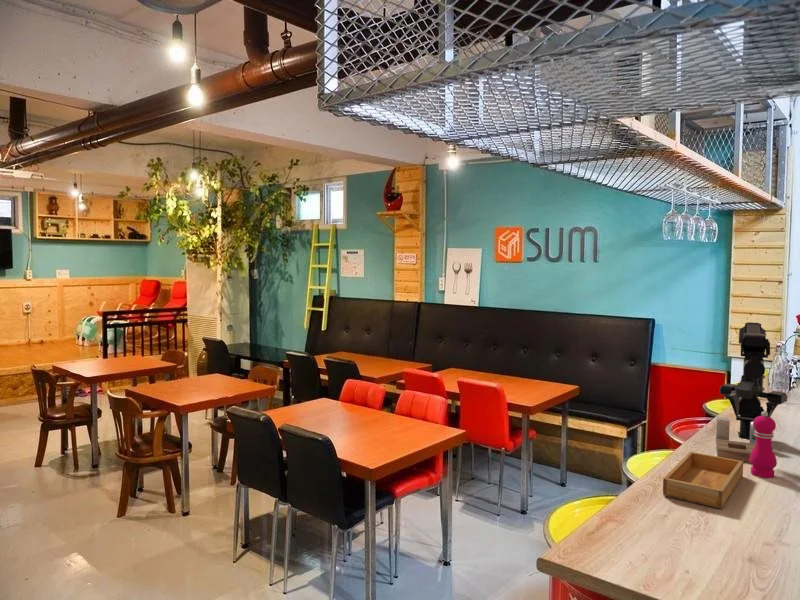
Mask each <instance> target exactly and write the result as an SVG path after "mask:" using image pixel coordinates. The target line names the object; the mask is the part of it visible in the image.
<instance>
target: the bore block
mask: <svg viewBox="0 0 800 600" xmlns="http://www.w3.org/2000/svg"><path fill="white" fill-rule="evenodd" d="M754 447H755V444H754V443H750V442H745V441H744V442H743V441H736V440H729V441H728V440H719V439H717V444H716V456H717V457H723V458H728V459H734V460H739V461H743V462H744V463H745V462H746V463H750V461H749V459H750V454H751V452H752V450H753V449H754Z"/></svg>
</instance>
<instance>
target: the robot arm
mask: <svg viewBox="0 0 800 600" xmlns="http://www.w3.org/2000/svg"><path fill="white" fill-rule="evenodd" d="M738 331H739V332H738V344H740V357H743V367H742V370H743V371H742V375H741V377H740V381H739V382H737V384H733V383H725V384H723V385H721V386H719V394H720V395H723V397H724V398H726V399H728V401H729V402H730V405H731V407H732V409H733V412H734V415H735V421H739V431H737V434H738V438H741V439H750V421H754V419H755V418H756V417H758V416H762V415H761V413H762V412H763V411H766V412H767V413H768V417H770V418H772V415H773V414H774V411H775V410H776V408H777V406H779V405H782V404H784V403H786V402H788V394H787V393H786V392H783V391H777V390H772V391H769V392H767V391H766V392H765V387H764V379H766V378H765V376H766V375H765V372H766V367H765V363H764V362H765V359H769V356H771V342H770V341H769V338H767V330H765V329H764V328H763V327H762V323H760V322H751V321H749V322H745V323H744V326H742V327H741V328H739V330H738ZM764 358H765V359H764ZM760 398H763V399H766V400H767V402H765V405H766V410H765V409H764V407H763V405H762V403H761V400H760Z"/></svg>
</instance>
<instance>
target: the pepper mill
mask: <svg viewBox="0 0 800 600" xmlns="http://www.w3.org/2000/svg"><path fill="white" fill-rule="evenodd" d="M761 415H762V416H758V417H756V418H755V419H754V421H753V426H754V428H755V429H756V430H755V434H754V435H755V436H756V444H755V447H754V449H753V450H752V452H751V454H750V459H749V461H750V462H749V463H750V464H751V467H750V474H751V475H753V476H755V477H757V478H761V479H773V478H775V474H776V473H775V470H774V469H775V468H776V467H777V465H778V464H777V463H778V462H777V457H776V454H775V452H774V450H773V445H772V439H773V438H774V431H775V430H776V429H777V428H776V427H777V425H776V421H775V420H774V419H773V417H768V413H767V412H766V410H764V411H763V412H762V413H761Z"/></svg>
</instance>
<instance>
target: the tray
mask: <svg viewBox="0 0 800 600" xmlns="http://www.w3.org/2000/svg"><path fill="white" fill-rule="evenodd" d="M743 475H744V461H739V460H734V459H728V458H723V457H717V455H712V454H706V453H698V452H694V451H689V452H688V453H687V454H686V455H685V456H684V457H683V459H681V460H680V461H679V462H678V463H677V465H675V466H674V467H673V468H672V469H671V470H670V471H669V472H668V473H667V474H666V475H665V476H664V477H663V479H662V480H663V481H662V495H663V496H665V497H669V498H674V499H678V500H683V501H686V502H690V503H695V504H700V505H704V506H708V507H713V508H717V509H723V508H724V506H725V504H726V503H727V501H728V500H729V498H730V496H731V495H732V493H733V492H734V490H735V489H736V487H737V485H738V484H739V482H740V481H741V479H742V477H743Z"/></svg>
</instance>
